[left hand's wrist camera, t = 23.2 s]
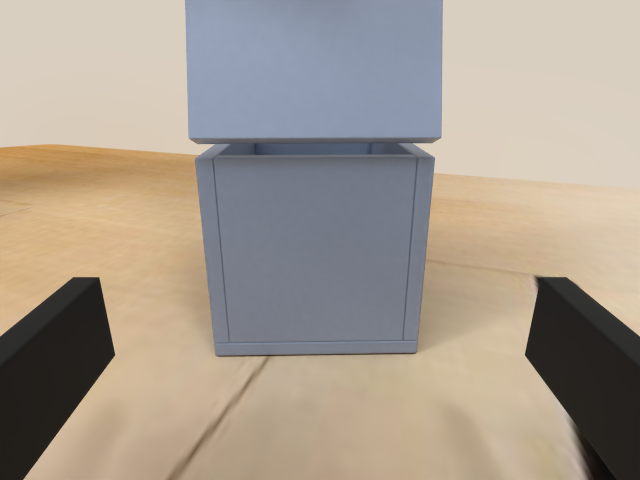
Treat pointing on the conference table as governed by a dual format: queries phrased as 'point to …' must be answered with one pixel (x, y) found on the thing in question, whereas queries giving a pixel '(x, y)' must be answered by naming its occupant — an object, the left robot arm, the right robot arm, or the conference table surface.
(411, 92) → the lid
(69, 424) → the conference table surface
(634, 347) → the left robot arm
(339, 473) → the conference table surface
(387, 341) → the chest
